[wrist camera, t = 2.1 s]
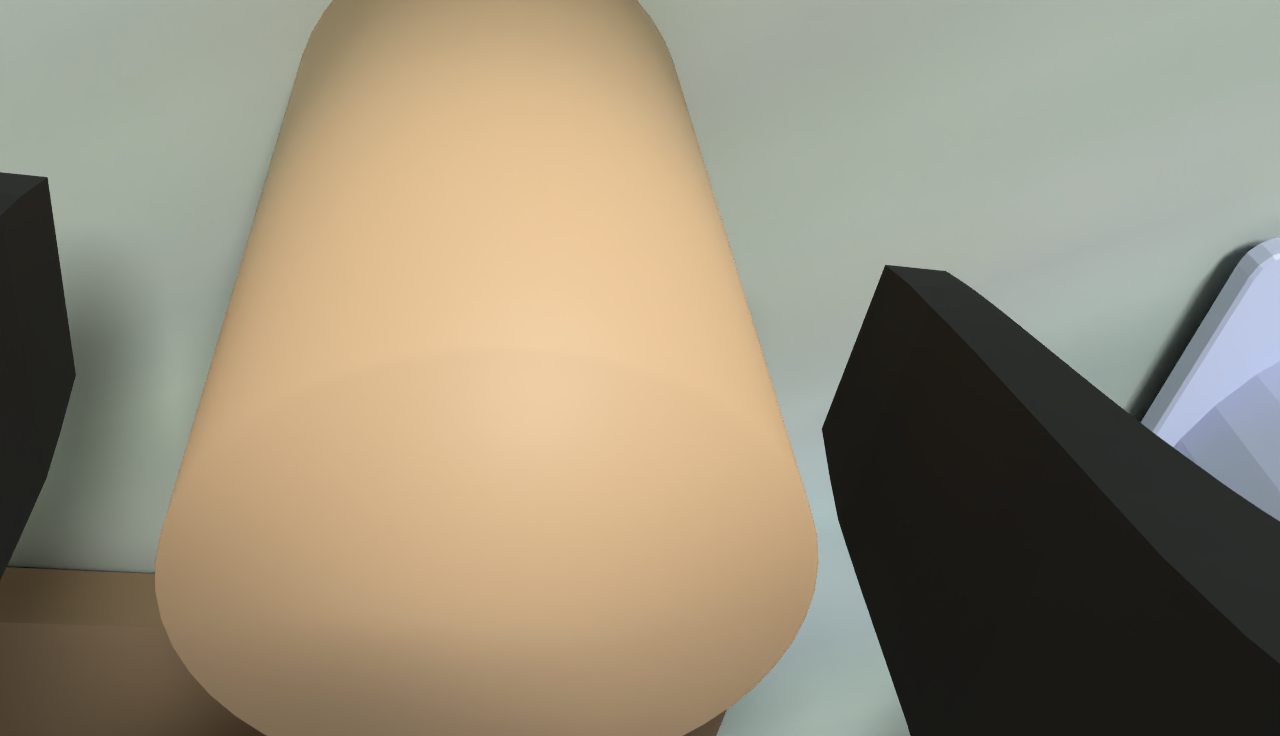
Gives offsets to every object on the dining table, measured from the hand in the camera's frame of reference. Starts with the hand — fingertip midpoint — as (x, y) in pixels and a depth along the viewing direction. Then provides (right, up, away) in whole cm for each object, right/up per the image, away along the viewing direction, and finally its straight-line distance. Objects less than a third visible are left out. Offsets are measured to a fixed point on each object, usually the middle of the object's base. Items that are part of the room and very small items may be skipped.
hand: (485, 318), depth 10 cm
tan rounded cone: (0, +2, +3) cm, 4 cm away
